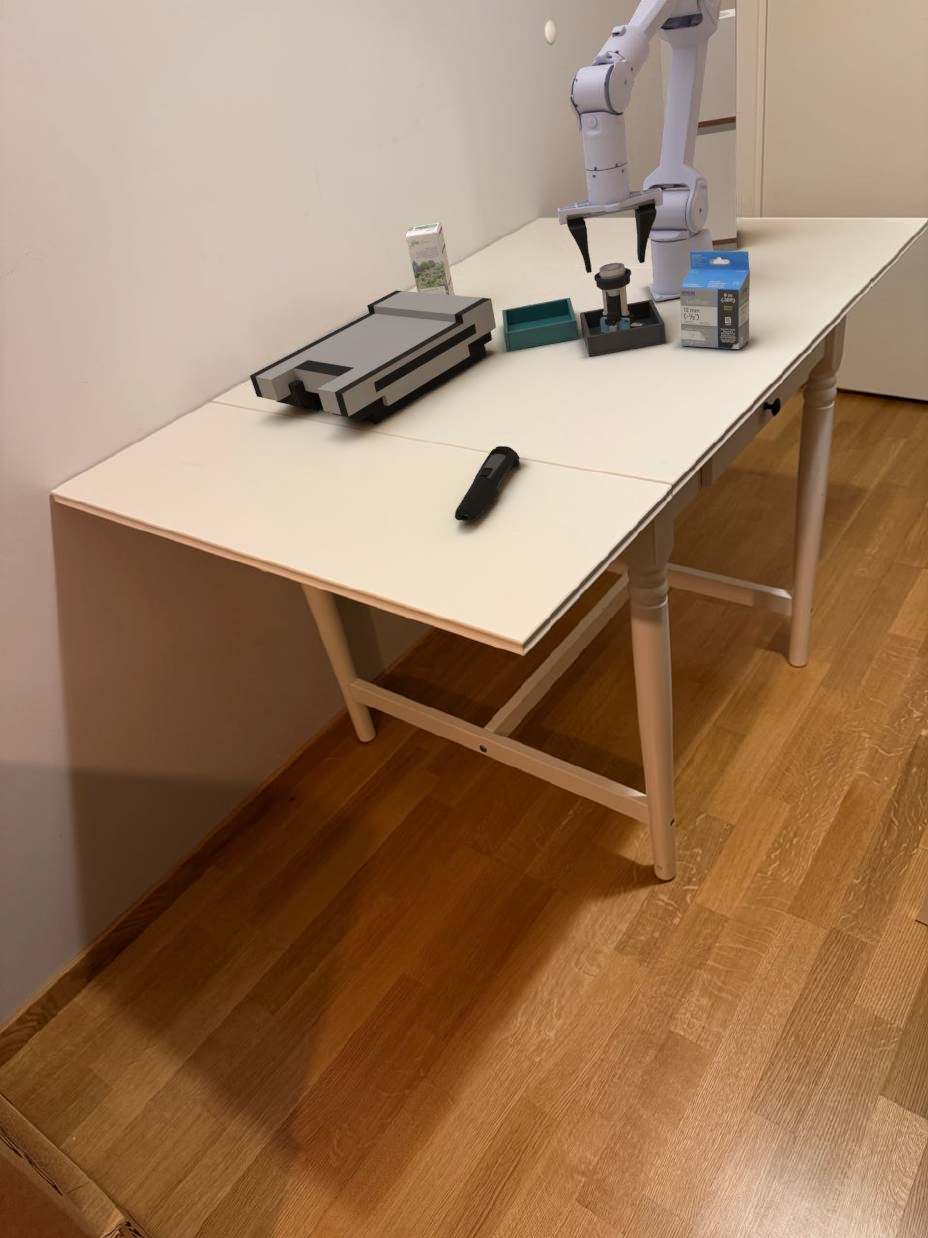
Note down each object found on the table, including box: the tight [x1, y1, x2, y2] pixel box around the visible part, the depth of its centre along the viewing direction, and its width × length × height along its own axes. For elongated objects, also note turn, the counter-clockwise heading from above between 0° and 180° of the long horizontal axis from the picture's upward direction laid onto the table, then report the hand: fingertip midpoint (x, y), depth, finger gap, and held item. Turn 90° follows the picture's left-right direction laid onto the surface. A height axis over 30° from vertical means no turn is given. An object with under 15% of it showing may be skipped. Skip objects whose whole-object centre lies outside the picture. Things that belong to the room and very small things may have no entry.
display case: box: [659, 8, 738, 251], centre depth 155 cm, size 11×11×35 cm
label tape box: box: [679, 250, 751, 350], centre depth 125 cm, size 9×4×12 cm, turn 53°
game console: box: [249, 290, 497, 425], centre depth 138 cm, size 21×32×8 cm, turn 139°
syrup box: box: [405, 222, 456, 295], centre depth 159 cm, size 6×6×14 cm
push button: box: [593, 262, 643, 334], centre depth 134 cm, size 7×5×10 cm
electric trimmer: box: [454, 445, 521, 522], centre depth 105 cm, size 4×16×3 cm, turn 158°
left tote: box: [501, 297, 579, 352], centre depth 144 cm, size 11×11×3 cm
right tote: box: [579, 299, 666, 357], centre depth 136 cm, size 11×11×3 cm
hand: (614, 265), depth 132 cm, fingers open, 7 cm apart
